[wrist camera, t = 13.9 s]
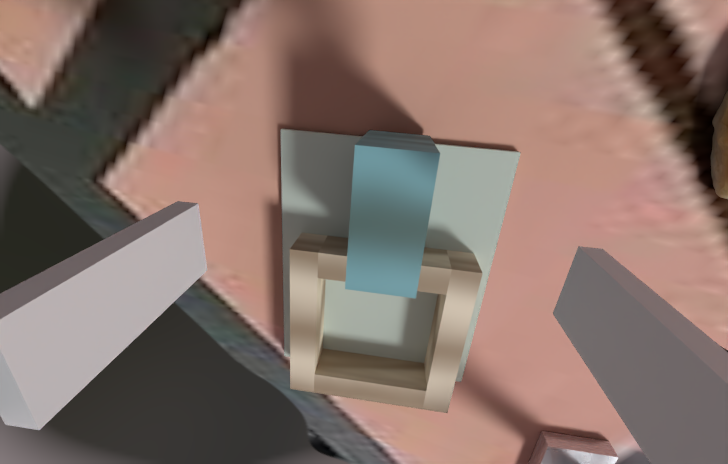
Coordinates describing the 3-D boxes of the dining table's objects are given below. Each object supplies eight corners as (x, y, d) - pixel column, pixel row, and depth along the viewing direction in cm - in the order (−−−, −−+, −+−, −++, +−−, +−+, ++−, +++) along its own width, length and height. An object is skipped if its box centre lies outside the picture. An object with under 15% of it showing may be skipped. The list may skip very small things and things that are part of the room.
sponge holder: (302, 123, 23) (262, 135, 16) (499, 142, 22) (540, 163, 15) (300, 362, 31) (273, 433, 24) (443, 383, 30) (454, 463, 23)
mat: (283, 128, 23) (280, 129, 23) (518, 151, 22) (520, 152, 22) (286, 351, 31) (284, 355, 31) (460, 377, 30) (461, 381, 30)
